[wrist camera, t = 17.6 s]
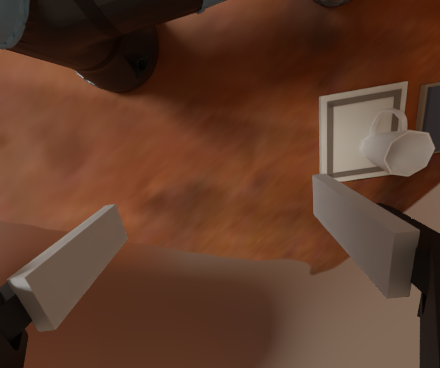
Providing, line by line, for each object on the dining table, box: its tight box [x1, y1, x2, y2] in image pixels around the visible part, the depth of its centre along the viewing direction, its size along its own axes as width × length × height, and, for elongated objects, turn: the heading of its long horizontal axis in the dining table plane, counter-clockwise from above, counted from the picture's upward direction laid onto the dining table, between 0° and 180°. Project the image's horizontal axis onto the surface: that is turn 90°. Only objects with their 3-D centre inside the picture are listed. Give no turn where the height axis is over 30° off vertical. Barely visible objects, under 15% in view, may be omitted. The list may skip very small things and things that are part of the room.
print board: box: [319, 81, 408, 182], centre depth 37 cm, size 16×14×1 cm
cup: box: [359, 108, 435, 177], centre depth 33 cm, size 7×10×8 cm
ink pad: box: [415, 82, 440, 153], centre depth 35 cm, size 12×6×2 cm, turn 9°
